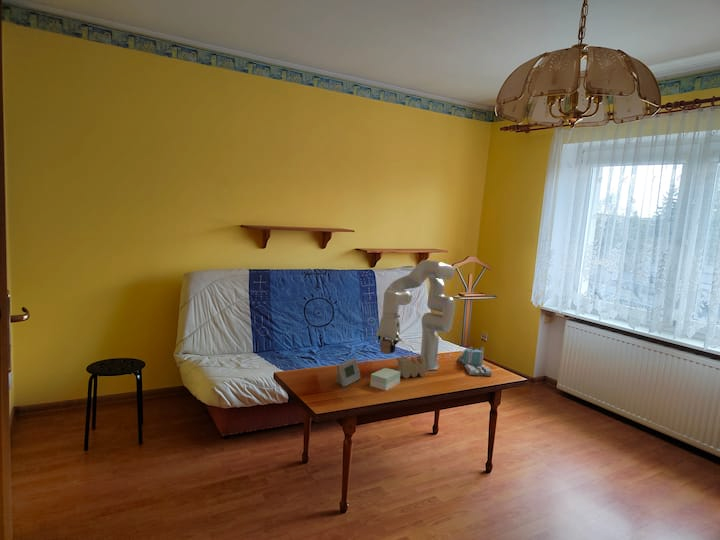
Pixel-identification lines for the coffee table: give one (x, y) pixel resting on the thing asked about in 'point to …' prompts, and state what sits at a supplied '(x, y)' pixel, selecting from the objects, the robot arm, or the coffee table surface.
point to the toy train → (412, 366)
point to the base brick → (385, 378)
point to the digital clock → (348, 372)
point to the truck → (474, 362)
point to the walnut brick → (386, 346)
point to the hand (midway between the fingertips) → (387, 350)
